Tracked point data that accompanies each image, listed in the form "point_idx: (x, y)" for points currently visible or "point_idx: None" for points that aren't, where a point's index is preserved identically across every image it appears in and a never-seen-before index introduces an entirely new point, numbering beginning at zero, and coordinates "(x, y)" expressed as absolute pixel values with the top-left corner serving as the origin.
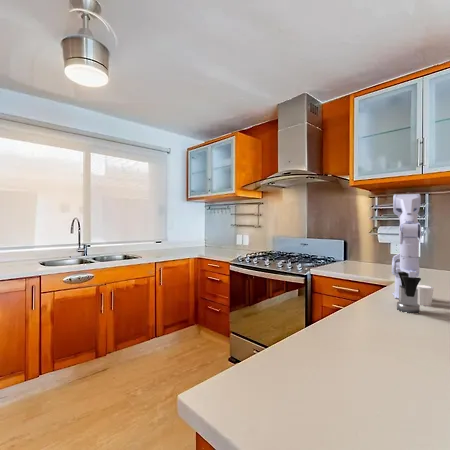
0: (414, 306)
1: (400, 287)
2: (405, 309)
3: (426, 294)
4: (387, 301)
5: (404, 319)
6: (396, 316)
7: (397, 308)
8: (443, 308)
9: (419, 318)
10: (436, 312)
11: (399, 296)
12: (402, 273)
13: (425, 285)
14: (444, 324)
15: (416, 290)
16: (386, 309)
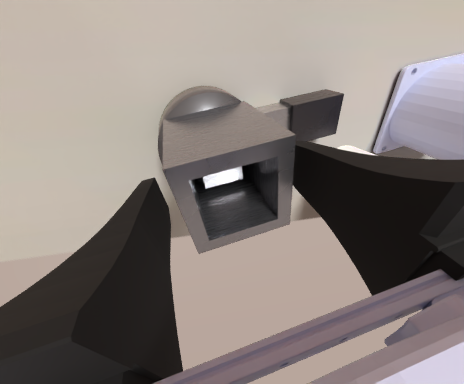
0: None
1: (219, 152)
2: (158, 135)
3: None
4: (345, 23)
5: (8, 137)
6: (26, 93)
7: (186, 91)
8: (299, 216)
9: (108, 185)
10: None
11: (236, 114)
12: (432, 227)
13: None
14: None
15: (194, 243)
16: (148, 20)
